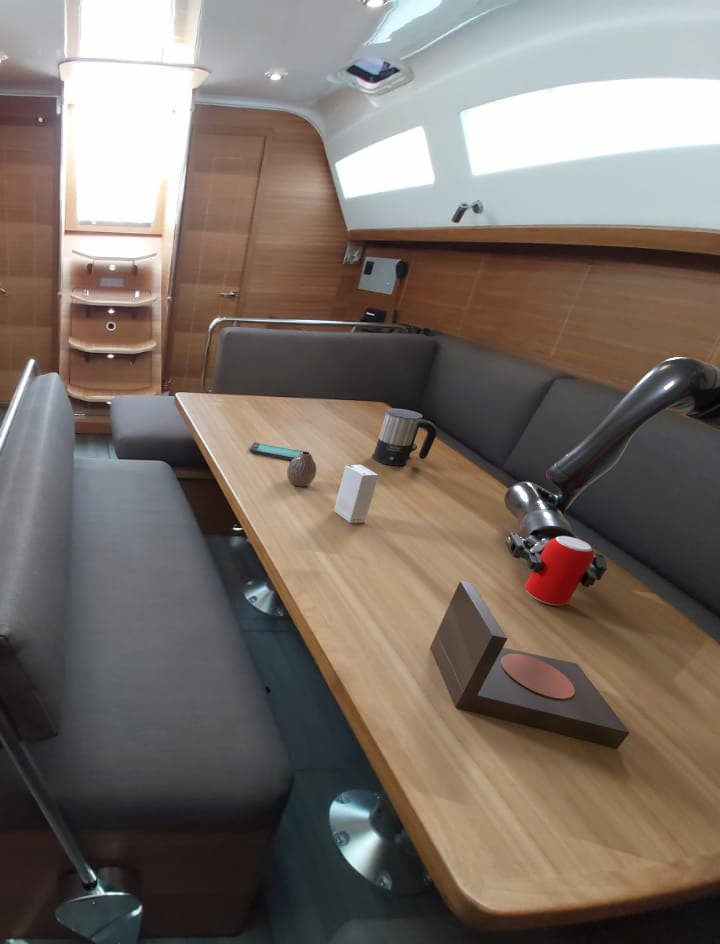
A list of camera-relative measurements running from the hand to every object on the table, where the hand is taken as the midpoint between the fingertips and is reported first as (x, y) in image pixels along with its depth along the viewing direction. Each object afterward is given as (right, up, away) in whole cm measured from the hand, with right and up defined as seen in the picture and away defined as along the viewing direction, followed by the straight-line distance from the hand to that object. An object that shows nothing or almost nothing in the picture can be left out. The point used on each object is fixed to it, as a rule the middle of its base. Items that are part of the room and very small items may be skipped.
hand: (562, 575), depth 86 cm
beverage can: (+1, -5, +5) cm, 7 cm away
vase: (-26, +15, +46) cm, 55 cm away
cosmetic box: (-21, +8, +30) cm, 38 cm away
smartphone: (-24, +24, +64) cm, 73 cm away
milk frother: (+12, +23, +65) cm, 70 cm away
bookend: (-22, -14, -15) cm, 30 cm away
